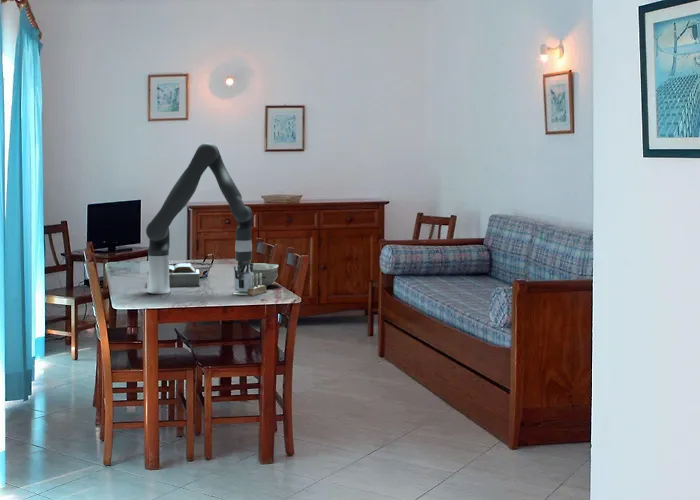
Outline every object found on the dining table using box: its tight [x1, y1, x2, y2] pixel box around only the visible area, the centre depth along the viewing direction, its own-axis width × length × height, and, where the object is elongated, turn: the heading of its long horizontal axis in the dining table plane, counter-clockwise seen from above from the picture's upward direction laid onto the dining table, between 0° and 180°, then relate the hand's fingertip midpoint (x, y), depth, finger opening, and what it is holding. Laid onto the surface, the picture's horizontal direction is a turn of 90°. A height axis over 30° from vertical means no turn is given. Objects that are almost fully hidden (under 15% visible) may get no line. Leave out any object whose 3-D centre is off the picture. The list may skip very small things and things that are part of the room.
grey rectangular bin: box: [169, 262, 201, 288], centre depth 440 cm, size 23×27×10 cm
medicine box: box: [234, 272, 253, 292], centre depth 412 cm, size 8×4×9 cm, turn 58°
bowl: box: [250, 262, 279, 288], centre depth 432 cm, size 21×21×10 cm
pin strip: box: [247, 273, 267, 297], centre depth 410 cm, size 3×12×9 cm, turn 157°
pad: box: [232, 291, 248, 296], centre depth 413 cm, size 8×10×1 cm
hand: (244, 286), depth 413 cm, fingers closed on medicine box, 4 cm apart
